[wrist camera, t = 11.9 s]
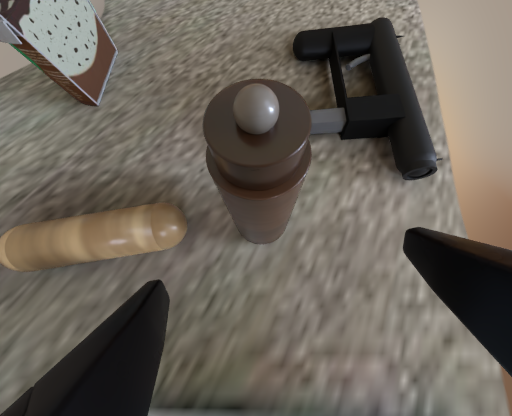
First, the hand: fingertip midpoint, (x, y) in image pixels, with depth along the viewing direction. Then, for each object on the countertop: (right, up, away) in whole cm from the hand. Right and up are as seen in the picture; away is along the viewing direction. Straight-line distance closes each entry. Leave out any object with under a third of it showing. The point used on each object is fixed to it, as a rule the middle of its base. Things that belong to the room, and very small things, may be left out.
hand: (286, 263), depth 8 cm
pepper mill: (-1, +1, +12) cm, 12 cm away
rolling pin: (-14, -1, +12) cm, 19 cm away
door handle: (+8, +14, +17) cm, 23 cm away
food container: (-23, +19, +19) cm, 35 cm away
